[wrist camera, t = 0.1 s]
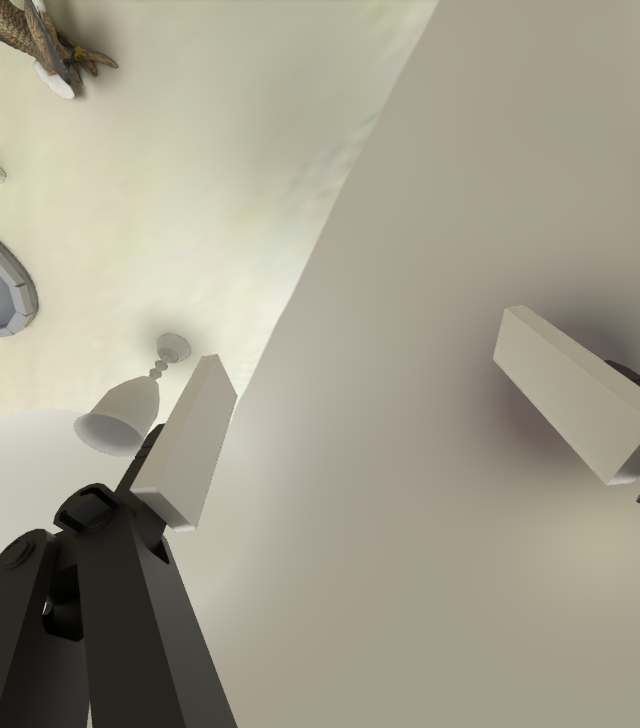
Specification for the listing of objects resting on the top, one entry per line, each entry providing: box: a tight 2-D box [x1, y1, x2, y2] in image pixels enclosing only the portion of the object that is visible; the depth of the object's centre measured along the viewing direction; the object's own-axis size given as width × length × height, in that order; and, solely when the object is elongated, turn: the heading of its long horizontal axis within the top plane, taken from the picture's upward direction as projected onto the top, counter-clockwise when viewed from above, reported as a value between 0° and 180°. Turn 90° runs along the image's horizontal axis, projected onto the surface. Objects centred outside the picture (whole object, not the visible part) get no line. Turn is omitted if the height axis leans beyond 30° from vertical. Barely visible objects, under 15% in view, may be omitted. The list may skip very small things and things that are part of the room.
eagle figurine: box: [0, 0, 118, 99], centre depth 22 cm, size 8×7×9 cm
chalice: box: [74, 334, 191, 457], centre depth 38 cm, size 7×7×18 cm
